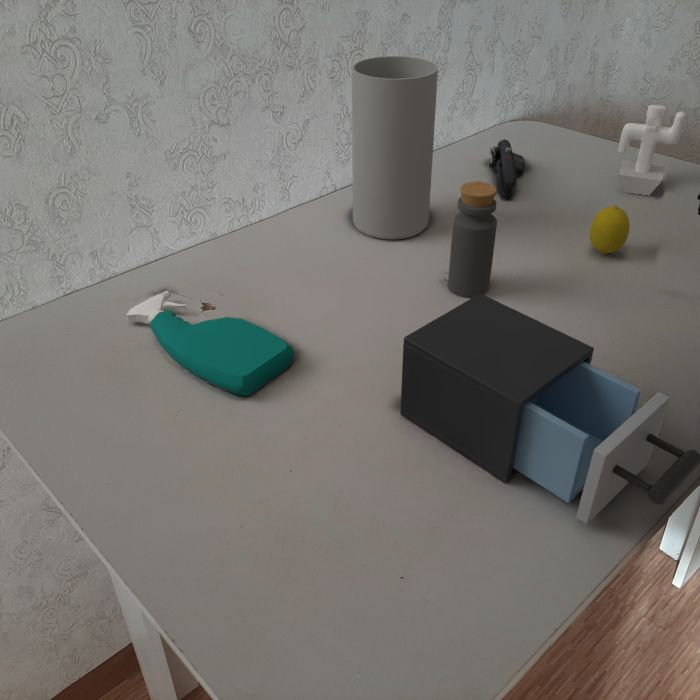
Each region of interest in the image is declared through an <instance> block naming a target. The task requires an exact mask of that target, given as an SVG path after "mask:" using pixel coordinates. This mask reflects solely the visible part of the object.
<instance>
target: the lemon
mask: <svg viewBox="0 0 700 700" xmlns="http://www.w3.org/2000/svg"><path fill="white" fill-rule="evenodd" d="M629 219H630V218H629V216H628V214H627V213H626V211H625V210H623V209H622V208H620V207H618V205H616V204H613V205H611V206H606V207H604V208H602V209H600V210H599V211H598V212H597V213H596V214H595V215H594V217H593V219H592V221H591V224H590V227H589V240H590V243H591V245H592V246H593V247H594V248H595V250H597V251H598V252H600V253H601V254H602V255H607V254H609V253H610V254H611V253H614V252H617V251H619V250H620V249H621V248H622V247H623V246H624V245H625V244H626V242H627V239H628V237H629V234H630V220H629Z"/></svg>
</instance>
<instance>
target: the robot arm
mask: <svg viewBox="0 0 700 700" xmlns="http://www.w3.org/2000/svg"><path fill="white" fill-rule="evenodd" d="M697 200H698V201H700V193H698V194H697ZM697 211H698V212H697V215H698V216H700V203H699V205H698V207H697Z"/></svg>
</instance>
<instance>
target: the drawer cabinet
mask: <svg viewBox="0 0 700 700" xmlns="http://www.w3.org/2000/svg"><path fill="white" fill-rule="evenodd" d="M402 346H403V347H402V366H401V367H402V369H401V371H402V372H401V388H400V389H401V390H400V391H401V392H400V413H399V414H400V416H402V417H404V418H405V419H406V420H408V421H410V422H411V423H413V424H414V425H416V426H417V427H418V428H420V429H422V430H423V431H425V432H426V433H428V434H429V435H431V436H432V437H434V438H435V439H437V440H438V441H439V442H441V443H443V444H444V445H446V446H447V447H449V448H450V449H451V450H454V451H455V452H456V453H458V454H459V455H461V457H464V458H465V459H467V460H469V461H470V462H472V463H473V464H474V465H476V466H477V467H478V468H481V469H482V470H484V471H485V472H487V473H488V474H490V475H491V476H493V477H494V478H496V479H497V480H499V481H500V482H502V483H503V484H505V485H507V484H508V483H509V482H511V480H513V479H514V478H515V477H517V475H518V474H521V473H520V472H519V471H517V470H516V469H514V468H513V464H514V458H515V452H516V447H517V441H518V436H519V430H520V424H521V419H522V413H523V406H525V405H526V404H527V403H529V402H530V401H531V400H533V399H534V398H535V397H536V396H538V395H539V394H540V393H542V392H543V391H544V390H546V389H547V388H548V387H550V386H551V385H552V384H554V383H555V382H556V381H558V380H559V379H560V378H562V377H563V376H564V375H566V374H567V373H568V372H569V371H571V370H572V369H573V368H575V367H576V366H577V365H579V364H580V363H581V362H583V361H584V362H586V363H588V364H590V365H591V363H592V359H593V355H594V351H595V348H594V347H593V346H591V345H589V344H587V343H585V342H582V341H581V340H579V339H576V338H574V337H572V336H571V335H568V334H567V333H564V332H562V331H561V330H558V329H555V328H553V327H551V326H549V325H548V324H546V323H543V322H541V321H539V320H537V319H535V318H533V317H530V316H529V315H526V314H524V313H522V312H520V311H518V310H516V309H513V308H512V307H510V306H508V305H506V304H503V303H502V302H499V301H498V300H495V299H493V298H491V297H489V296H487V295H485V294H484V295H483V294H478V295H476V296H475V297H470V299H468V300H466V301H463V303H461V304H459V305H458V306H456V307H453V309H450V310H449V311H447V312H445V313H444V314H442V315H440V316H439V317H437V318H435V319H433V320H432V321H430V322H428V323H426V324H425V325H423V326H420V328H418V329H416V330H414V331H413V332H410V333H409V334H407V335H406V336H404V337H403V344H402Z"/></svg>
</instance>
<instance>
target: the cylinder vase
mask: <svg viewBox="0 0 700 700" xmlns="http://www.w3.org/2000/svg"><path fill="white" fill-rule="evenodd" d="M438 73H439V66H438V65H437V63H435V62H433V61H430V60H428V59H424V58H420V57H413V56H404V55H386V56H385V55H384V56H375V57H369V58H364V59H361V60H359V61H356V62H354V63H353V64H352V65H351V144H352V145H351V146H352V147H351V148H352V151H351V152H352V153H351V154H352V155H351V156H352V163H351V164H352V171H351V172H352V222H353V225H354V227H355V228H356V229H357V230H358V231H359V232H360V233H362V234H364V235H366V236H368V237H371V238H376V239H379V240H380V239H381V240H402V239H407V238H412V237H414V236H416V235H419V234H421V233H422V232H423V231H424V230H425V229H426V228H427V227H428V225H429V220H430V206H431V205H430V203H431V189H432V175H433V174H432V173H433V172H432V171H433V157H434V155H433V154H434V138H435V123H436V107H437V93H438V92H437V91H438V90H437V89H438V76H439V74H438Z"/></svg>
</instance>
